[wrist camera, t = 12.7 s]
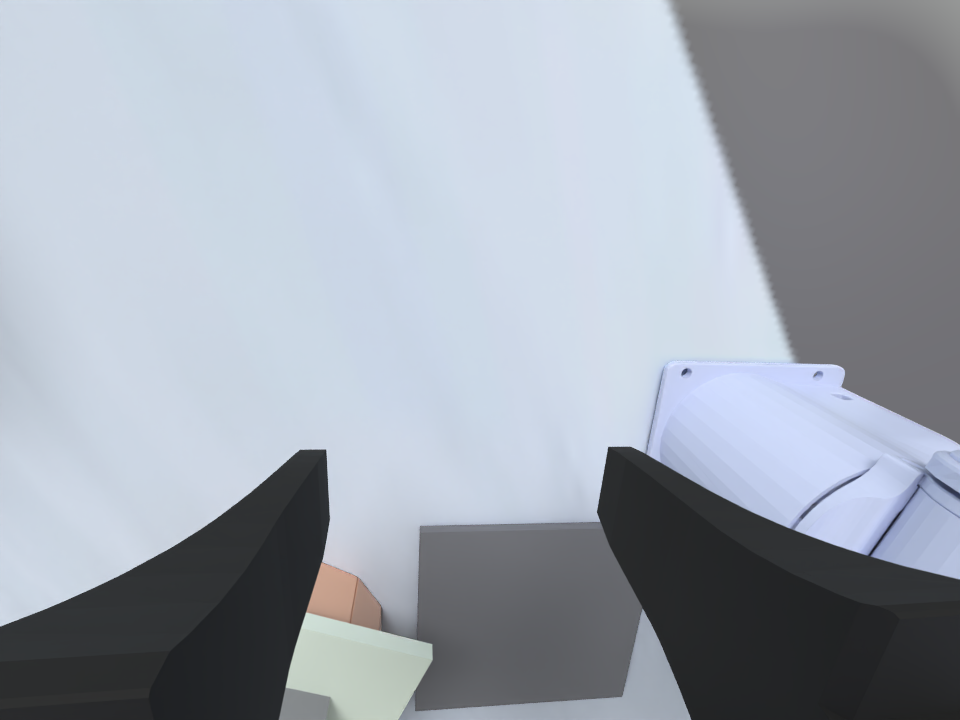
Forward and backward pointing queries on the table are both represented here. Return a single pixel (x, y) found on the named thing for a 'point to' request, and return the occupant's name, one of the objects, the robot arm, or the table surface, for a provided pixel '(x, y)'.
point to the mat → (522, 615)
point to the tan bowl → (344, 599)
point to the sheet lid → (351, 672)
